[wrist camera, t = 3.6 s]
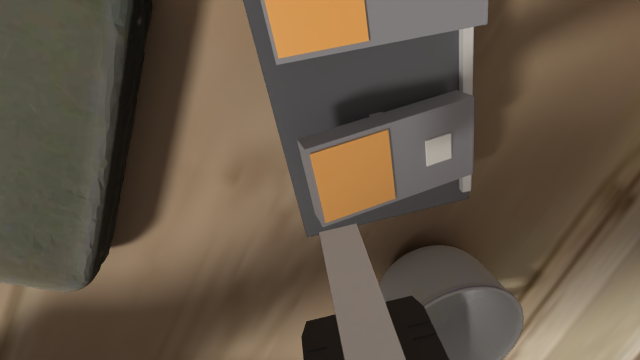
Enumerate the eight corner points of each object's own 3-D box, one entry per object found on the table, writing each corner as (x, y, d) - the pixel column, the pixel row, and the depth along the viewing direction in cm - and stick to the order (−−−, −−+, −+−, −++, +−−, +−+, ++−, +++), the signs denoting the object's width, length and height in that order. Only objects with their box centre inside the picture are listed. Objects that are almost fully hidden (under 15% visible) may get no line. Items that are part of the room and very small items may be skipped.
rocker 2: (456, 163, 24) (474, 174, 22) (314, 213, 22) (323, 228, 21) (456, 90, 21) (476, 96, 20) (296, 139, 20) (305, 150, 18)
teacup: (346, 264, 33) (369, 339, 26) (455, 206, 32) (509, 269, 25) (405, 343, 40) (435, 420, 33) (497, 298, 38) (549, 369, 31)
